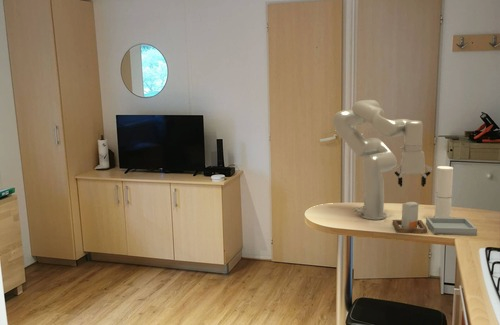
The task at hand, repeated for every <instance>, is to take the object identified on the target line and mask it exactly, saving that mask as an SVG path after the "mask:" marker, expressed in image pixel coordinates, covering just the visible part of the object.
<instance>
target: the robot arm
mask: <svg viewBox="0 0 500 325" xmlns="http://www.w3.org/2000/svg"><path fill="white" fill-rule="evenodd" d="M385 114H386V112H385V111H384V109H383V108H382V107H381V105H380V103H379V102H378V101H377V100H374V99H364V100H363V99H362V100H358V101H355V103H353V104H352V107H351V109H344V110H340V111H337V112H336V113H335V114H334V115H333V119H332V123H333V124H332V125H333V128H334V131H335V132H336V133H337V135H338V136H339V137H340V138H341V139H342V140H343V141H344V142H345V143H346V145H348V147H349V148H350V149H351V151H352V152H353V153H354V154H355V156H356V157H358V158H359V159H363V160H362V168H363V170H362V171H363V174H364V175H363V176H364V179H363V180H364V182H363V183H364V184H363V185H364V186H363V187H364V192H363V195H364V196H363V205H362V206H361V207H354V208H353V209H354V212H355V213H358V214H359V213H360V217H361V218H363V219H366V220H372V221H377V220H385V219H386V218H387V217H388V216H387V213H386V212H384V210H385V209H384V207H385V206H384V205H385V180H384V176H383V175H382V173H385V172H389V171H393V173H394V174H395V176H396V177H397V184H398V185H399V187H403V176H404V175H421V181H420V184H421V187H425V185H426V184H427V177H429V176H430V174H431V172H432V171H433V169H434V168H433V167H432V166H429V165H427V164H426V158H425V157H426V156H425V151H423V128H424V127H423V126H424V124H423V122H422V121H421V120H416V119H415V120H413V119H412V120H411V119H407V118H399V119H397V118H396V119H388V118H385V117H386V115H385ZM365 123H369V124H371V125H372V127H373V129H374V130H375V131H376V132H377V133H379V134H381V135H382V136H385V137H390V138H394V137H402V136H404V138H403V139H404V142H403V143H404V144H403V145H401V146H400V149H401V150H403V151H402V152H401V158H400V163H399V164H398V160H397V157H396V155H395V154H394V153H393V151H391V149H390V148H389V147H388V146H387V145H386V143H385V142H383V141H382V140H381V139H380V138H378V137H365V136H364V135H362V134H361V132H360V131H359V130H357V129H356V128H355V126H361V125H364V124H365ZM353 126H354V127H353ZM398 169H400V171H399V172H398V171H397V170H398ZM426 169H427V171H426Z"/></svg>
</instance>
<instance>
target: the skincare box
mask: <svg viewBox="0 0 500 325" xmlns="http://www.w3.org/2000/svg"><path fill="white" fill-rule="evenodd" d="M401 206H402V208H401V220H402V224H401V225H400V228H418V225H417V221H418V220H419V218H418V217H419V203H418V202H415V201H408V202H403V203H402V205H401Z"/></svg>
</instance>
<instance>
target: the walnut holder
mask: <svg viewBox="0 0 500 325" xmlns="http://www.w3.org/2000/svg"><path fill="white" fill-rule="evenodd" d="M401 224H402V219H392V225H393V227H394V229H395V232H396V233H397V234H426V233H427V234H428V229H429V228H427V225H425V223H424V222H423V221H422V220H421V219H418V221H417V226H418V227H417V228H401Z"/></svg>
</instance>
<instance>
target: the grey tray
mask: <svg viewBox="0 0 500 325" xmlns="http://www.w3.org/2000/svg"><path fill="white" fill-rule="evenodd" d="M425 224H426V227H428V229H429V230H430V231H431V233H432V234H433V235H438V234H443V235H446V236H447V235H448V236H452V235H453V236H477V235H478V228H477V227H476V226H475V225H474V224H473V223H472V222H471V221H470V220H469V219H468V218H466V217H450V218H435V217H426V218H425Z"/></svg>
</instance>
